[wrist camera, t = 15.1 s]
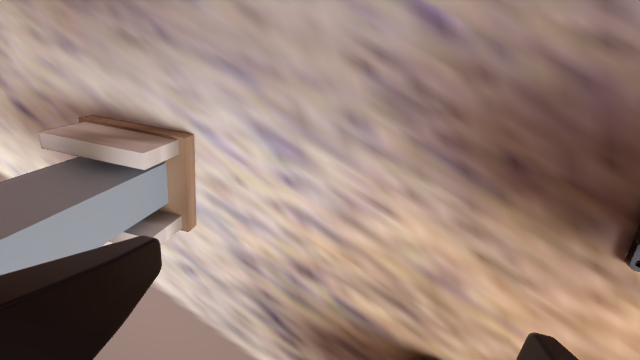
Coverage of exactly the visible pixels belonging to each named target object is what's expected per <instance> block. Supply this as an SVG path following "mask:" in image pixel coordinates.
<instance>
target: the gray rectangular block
mask: <svg viewBox="0 0 640 360" xmlns="http://www.w3.org/2000/svg"><path fill="white" fill-rule="evenodd" d="M167 203H168V189H167V172H166V163H164V162H161V163H159V164H157V165H155V166H152V167H150V168H148V169H146V170H142V169H137V168H132V167H127V166H123V165H118V164H113V163H109V162H104V161H99V160H95V159H90V158H85V157H81V156H80V157H77V158H74V159H70V160H67V161H64V162H61V163H58V164H55V165H52V166H49V167H45V168H42V169H39V170H36V171H33V172H30V173H27V174H24V175H20V176H17V177H14V178H11V179H8V180H5V181H2V182H0V275H3V274H6V273H10V272H13V271H17V270H20V269H24V268H28V267H31V266H35V265H38V264H42V263H45V262H49V261H52V260H56V259H60V258H63V257H67V256H70V255H74V254H77V253H81V252H84V251H88V250H92V249H95V248H99V247H101V246H102V245H104V244H105V243H107V242H108V241H110V240H111V239H113V238H114V237H116V236H118V235H119V234H121V233H122V232H124V231H125V230H127V229H128V228H130V227H132V226H133V225H135V224H136V223H138V222H139V221H141V220H142V219H144V218H146V217H147V216H149V215H150V214H152V213H153V212H155V211H156V210H158V209H160V208H161V207H163V206H164V205H166V204H167Z"/></svg>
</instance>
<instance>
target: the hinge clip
mask: <svg viewBox="0 0 640 360" xmlns="http://www.w3.org/2000/svg"><path fill="white" fill-rule="evenodd" d="M38 134H39V139H40V143H41V148H43V149H48V150H53V151H57V152H62V153H67V154H71V155H76V156H81V157H85V158H90V159H95V160H99V161H104V162H109V163H113V164H118V165H123V166H127V167H132V168H137V169H142V170H146V169H148V168H150V167H152V166H155V165H157V164H159V163H161V162H164V163H166V172H167V189H168V203H167V204H166V205H164V206H163V207H161V208H160V209H158V210H156V211H155V212H153V213H152V214H150V215H149V216H147V217H146V218H144V219H142V220H141V221H139V222H138V223H136V224H135V225H133V226H132V227H130V228H128V229H127V230H125V231H124V232H122V233H121V234H119V235H118V236H116V237H114V238H113V239H111V240H110V241H109V242H113V243H116V242H120V241H124V240H127V239H131V238H134V237H138V236H142V235H145V236H150V237H154V238H157V239H158V240H159V242H160V245H161V244H163V243H164V242H165V241H166V240H168V239H169V238H170V237H171V236H173V235H174V234H175V233H176V232H178V231H179V230H182V231H186V232H189V231H190V230H191V229H192V228H194V227H195V226H196V199H195V158H194V135H193V134H188V133H182V132H177V131H172V130H166V129H161V128H156V127H151V126H145V125H140V124H135V123H130V122H124V121H119V120H114V119H108V118H103V117H98V116H93V115H90V116H85V117H79V123H77V124H73V125H68V126H63V127H59V128H54V129H49V130H45V131H40V132H38Z"/></svg>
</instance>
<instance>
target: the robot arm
mask: <svg viewBox="0 0 640 360" xmlns="http://www.w3.org/2000/svg"><path fill="white" fill-rule="evenodd" d="M639 260H640V226H639V228H638V230H637V232H636V235H635V237H634V241H633V243H632V246H631V248H630V250H629V252H628V255H627V257H626V260H625V262H626V264H627V265H628V266H629V267H630V268H631V269H633V270H634V271H637V272H640V263H637V264H635V263H636V262H637V261H639ZM161 266H162V261H161V248H160V242H159V240H158V239H157V238H154V237H150V236H145V235H142V236H138V237H134V238H131V239H127V240H124V241H120V242H116V243H113V244H109V245H106V246H102V247H99V248H95V249H92V250H88V251H84V252H81V253H77V254H74V255H70V256H67V257H63V258H60V259H56V260H52V261H49V262H45V263H42V264H38V265H35V266H31V267H28V268H24V269H20V270H17V271H13V272H10V273H6V274H3V275H0V360H93V358H95V356H96V355H97V354H98V353H99V351H101V349H102V348H103V347H104V346H105V345H106V343H107V342H108V341H109V340H110V339H111V338H112V337H113V335H114V334H115V333H116V332H117V331H118V329H119V328H120V327H121V326H122V324H123V323H124V322H125V320H126V319H127V318H128V317H129V315H130V314H131V312H132V311H133V309H134V308H135V307H136V305H137V304H138V302H139V301H140V300H141V298H142V297H143V295H144V294H145V293H146V291H147V290H148V288H149V287H150V286H151V284H152V283H153V281H154V280H155V279H156V277H157V276H158V274H159V272H160V270H161ZM517 360H578V359H577V358H576V357H575V356H574V355H573V354H572V353H571V352H569V351H568V350H567V349H566V348H565V347H564V346H563V345H562V344H560V343H559V342H558V341H557V340H556V339H555V338H553V337H551V336H547V335H543V334H539V333H530V334H529V335H528V337H527V338H526V340H525V343H524V345H523V347H522V349H521V351H520V353H519V355H518V357H517Z"/></svg>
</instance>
